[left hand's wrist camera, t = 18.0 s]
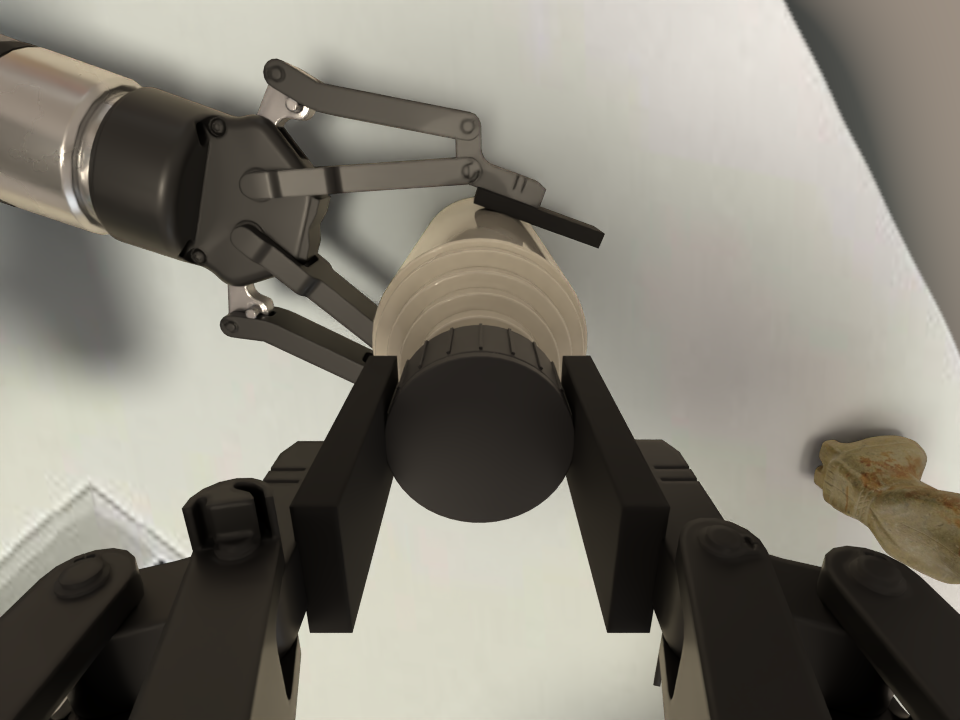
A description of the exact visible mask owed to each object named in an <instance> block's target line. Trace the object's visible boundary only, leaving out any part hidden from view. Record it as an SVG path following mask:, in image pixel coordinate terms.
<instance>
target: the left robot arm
mask: <svg viewBox="0 0 960 720" xmlns="http://www.w3.org/2000/svg"><path fill="white" fill-rule="evenodd" d="M397 383H399V378H398V363H397V356H369V358H368V359H367V361H366V363H365V365H364V367H363V369H362V371H361V373H360V374H359V376H358V378H357V380H356V382H355V384H354V386H353V388H352V390H351V391H350V393H349V395H348V397H347V399H346V401H345V403H344V405H343V406H342V408H341V410H340V412H339V414H338V416H337V418H336V420H335V422H334V423H333V425H332V427H331V429H330V431H329V433H328V435H327V437H326V439H325V440H324V441H297V442H296V443H294V444H293V445H292V446H290V447H289V448H288V449H286V450H285V451H283V452H282V453H281V454H280V455H279V456H278V458H277V460H276V461H275V463H274V464H273V466H272V467H271V471H269V472H268V473H267V475H266V476H265V478H264V479H263V481H262V480H258V479H254V478H236V479H231V480H227V481H222V482H218V483H216V484H214V485H211V486H209V487H207V488H204V489H202V490H201V491H200V492H198V493H197V494H195V495H194V496H192V497H191V498H190V499H189V500H188V501H187V503H186V504H185V505H184V506H183V508H182V511H183V515H184V519H185V523H186V527H187V530H188V534H189V538H190V542H191V546H192V550H193V552H192V555H191V557H188V558H185V559H181V560H178V561H174V562H169V563H165V564H160V565H156V566H151V567H147V568H142V569H138V566H137V563H136V559H135V557H134V556H133V555H132V554H131V553H129V552H128V551H127V550H122V549H116V548H110V549H101V550H95V551H91V552H88V553H85V554H82V555H79V556H76V557H74V558H72V559H70V560H68V561H66V562H64V563H62V564H60V565H58V566H56V567H55V568H54V569H52V570H51V571H50V572H49V573H47V574H46V575H45V576H43V577H42V578H41V579H40V580H39V581H38V582H37V583H35V584H34V585H33V586H32V587H31V588H30V589H29V590H28V591H27V592H26V593H25V594H24V595H23V596H22V597H21V598H20V599H19V600H18V601H17V602H16V603H15V604H14V605H13V606H12V607H11V608H10V609H9V610H8V611H7V612H5V613H4V614H3V615H2V616H1V617H0V720H295V716H296V706H297V695H298V684H299V673H300V662H301V650H300V643H299V638H298V631H299V629H300V626H301V623H302V621H303V618H304V615H305V613H306V612H307V618H308V624H309V630H310V633H353V629H354V625H355V621H356V617H357V614H358V610H359V606H360V602H361V598H362V594H363V591H364V587H365V583H366V579H367V575H368V572H369V568H370V564H371V560H372V556H373V553H374V549H375V545H376V541H377V537H378V534H379V530H380V526H381V522H382V518H383V514H384V511H385V507H386V503H387V499H388V495H389V492H390V488H391V484H392V480H393V476H394V475H393V474H392V472H391V470H390V467H389V465H388V462H387V454H386V441H385V424H386V420H387V412H388V409H389V406H390V403H391V400H392V397H393V395H394V392H395V389H396V386H397ZM561 385H562V387H563V389H564V392H565V395H566V398H567V401H568V404H569V407H570V410H571V413H572V419H573V424H574V428H575V436H574V450H573V459H572V462H571V465H570V467H569V470H568V472H567V474H566V478H567V481H568V485H569V489H570V493H571V497H572V500H573V504H574V508H575V512H576V516H577V520H578V523H579V527H580V531H581V535H582V539H583V542H584V546H585V550H586V554H587V558H588V561H589V565H590V569H591V573H592V577H593V581H594V584H595V588H596V592H597V596H598V600H599V603H600V607H601V611H602V615H603V619H604V622H605V626H606V630H607V633H650V628H651V622H652V616H653V610H654V611H655V614H656V616H657V619H658V622H659V624H660V627H661V630H662V638H661V643H660V649H659V655H658V660H657V666H656V672H655V678H654V684H653V685H655V686H660V684H661V682H662V693H663V704H664V715H665V720H960V614H959V613H958V612H957V611H956V610H955V609H954V608H952V607H951V606H950V605H949V604H948V603H947V602H946V601H945V600H944V599H943V598H942V597H941V596H940V595H939V594H938V593H937V592H936V591H935V590H934V589H933V588H932V587H931V586H930V585H929V584H927V583H926V582H925V581H924V580H923V579H922V578H921V577H920V576H919V575H918V574H916V573H915V572H914V571H912V570H911V569H910V568H908V567H907V566H906V565H904V564H903V563H901V562H899V561H897V560H895V559H893V558H891V557H889V556H887V555H885V554H882V553H880V552H877V551H874V550H870V549H867V548H861V547H853V546H843V547H837V548H833V549H832V550H831V551H829V552H828V553H827V554H826V555H825V558H824V561H823V564H822V567H818V566H814V565H809V564H805V563H800V562H796V561H791V560H787V559H783V558H779V557H776V556H772V555H769V554H768V552H767V550H766V548H765V547H764V545H763V544H762V542H761V541H760V539H758V538H757V537H756V536H755V535H753V534H752V533H751V532H750V531H748V530H747V529H745V528H743V527H741V526H739V525H736V524H734V523H732V522H729V521H725V520H724V519H723V517H722V516H721V514H720V513H719V511H718V510H717V508H716V507H715V505H714V504H713V502H712V501H711V499H710V498H709V496H708V495H707V493H706V491H705V490H704V488H703V487H702V485H701V484H700V482H699V481H697V478H696V476H695V475H694V473H693V472H692V470H691V469H689V466H688V464H687V463H686V461H685V460H684V458H683V456H682V455H681V453H680V452H679V451H677V450H676V449H675V448H673V447H672V446H670V445H669V444H668V443H666V442H665V441H663V440H635V439H634V437H633V435H632V434H631V432H630V430H629V428H628V426H627V424H626V422H625V420H624V418H623V417H622V415H621V413H620V411H619V409H618V407H617V405H616V403H615V402H614V400H613V398H612V396H611V394H610V392H609V390H608V388H607V386H606V385H605V383H604V381H603V379H602V377H601V375H600V373H599V371H598V369H597V368H596V366H595V364H594V362H593V360H592V358H591V356H563V357H562V373H561ZM894 694H895V696H896V697H897V698H898V700H899V701H900V702H901V704H902V705H903V706H904V707H905V709H906V710H907V711H908V713H909V714H910V715H909V714H908V713H907V712H906V711H905V710H904V709H903V708H902V707H901V706H900V704H899V703H898V702H897V700H896V699H895V698H894V697H893V695H894ZM66 696H67V699H66V700H65V702H64V703H63V704H62V706H61V707H60V708H59V709H58V710H57V711H56V709H57V708H58V707H59V706H60V704H61V703H62V702H63V700H64V699H65V698H66ZM55 711H56V712H55ZM54 712H55V713H54ZM53 713H54V714H53Z"/></svg>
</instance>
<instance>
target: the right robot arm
mask: <svg viewBox="0 0 960 720" xmlns="http://www.w3.org/2000/svg"><path fill="white" fill-rule="evenodd" d="M263 73H264V78H265V80H266V82H267V83H268V87H267V90H266V92H265V95H264V97H263V100H262V103H261V105H260V108H259V111H258V113H257V115H256V114H251V115H246V116H240V117H236V116H232V115H229V114H227V113H224V112H221V111H218V110H215V109H213V108H210V107H207V106H204V105H202V104H199V103H196V102H193V101H190V100H188V99H185V98H182V97H179V96H177V95H174V94H171V93H168V92H165V91H163V90H160V89H157V88H154V87H142V86H140V85H139V84H138V83H136V82H135V81H134V80H132V79H129V78H127V77H124V76H121V75H118V74H115V73H113V72H110V71H107V70H104V69H101V68H99V67H96V66H93V65H90V64H87V63H85V62H82V61H79V60H76V59H73V58H71V57H68V56H65V55H62V54H59V53H56V52H54V51H51V50H48V49H45V48H42V47H38V46H35V45H32V44H29V43H25V42H21V41H18V40H15V39H13V38H10V37H7V36H5V35H2V34H0V202H2V203H5V204H8V205H11V206H14V207H18V208H21V209H24V210H27V211H30V212H33V213H36V214H39V215H42V216H45V217H48V218H51V219H54V220H57V221H60V222H63V223H66V224H69V225H72V226H75V227H78V228H81V229H83V230H86V231H89V232H93V233H97V234H100V235H106V234H110V235H111V236H112V237H114V238H115V239H117V240H119V241H121V242H125V243H128V244H131V245H134V246H137V247H140V248H143V249H146V250H149V251H152V252H156V253H159V254H162V255H165V256H168V257H171V258H174V259H177V260H180V261H184V262H187V263H191V264H195V265H199V266H202V267H205V268H206V269H208V270H210V271H211V272H213V273H214V274H215V275H216V276H217V277H218V278H219V279H221V280H222V281H223V282H225V283H226V284H228V302H229V314H228V315H226V316H225V317H223V318H222V320H221V322H220V327H221V330H222V331H223V333H224V334H226V335H227V336H230V337H234V338H242V339H249V340H257V341H264V342H266V343H268V344H270V345H273V346H275V347H277V348H279V349H281V350H283V351H285V352H288V353H290V354H292V355H294V356H296V357H298V358H300V359H303V360H305V361H307V362H309V363H311V364H313V365H315V366H318V367H320V368H322V369H324V370H326V371H328V372H331V373H333V374H335V375H337V376H339V377H341V378H343V379H346V380H348V381H350V382H352V383H354V384H355V382H356V380H357V378H358V376H359V374H360V373H361V371H362V369H363V367H364V365H365V363H366V361H367V359H368V358H369V356H374V355H373V350H371V349H369V348H367V347H365V346H363V345H360V344H358V343H356V342H354V341H352V340H350V339H348V338H346V337H344V336H342V335H340V334H338V333H336V332H333V331H331V330H329V329H327V328H325V327H323V326H321V325H319V324H317V323H315V322H313V321H311V320H309V319H306V318H304V317H302V316H300V315H298V314H296V313H294V312H291V311H289V310H286V309H283V308H280V307H274V304H273V301H272V299H271V298H269V297H267V296H264V295H262V294H260V293H259V292H258V291H257V290H256V289H255V287H254V283H257V282H260V281H263V280H266V279H269V278H273V277H276V278H277V279H278V280H280V281H281V282H282V283H284V284H285V285H286V286H287V287H289V288H290V289H291V290H292V291H294V292H295V293H297V294H299V295H301V296H305V297H307V298H309V299H310V300H312V301H313V302H314V303H315V304H317V305H318V306H319V307H320V308H322V309H323V310H324V311H326V312H327V313H328V314H329V315H331V316H332V317H333V318H334V319H336V320H337V321H338V322H340V323H341V324H342V325H343V326H345V327H346V328H347V329H348V330H350V331H351V332H352V333H354V334H355V335H356V336H357V337H359V338H360V339H361V340H362V341H364V342H365V343H366V344H368V345H369V346H370V347H371V348H372V331H373V323H374V318H375V315H376V311H377V307H378V306H377V305H376V304H375V303H373V302H372V301H371V300H370V299H369V298H367V297H366V296H365V295H364V294H362V293H361V292H360V291H359V290H357V289H356V288H355V287H354V286H353V285H351V284H350V283H349V282H348V281H346V280H345V279H344V278H343V277H342V276H340V275H339V274H338V273H337V272H335V271H334V270H333V269H332V266H331V265H330V263H329V262H328V261H327V260H325V259H324V258H323V257H322V256H320V255H319V254H318V250H319V245H320V241H321V231H320V224H321V221H322V220H323V218H324V216H325V214H326V212H327V211H328V206H329V202H330V198H331V196H329V195H328V194H337V193H349V192H363V191H378V190H393V189H408V188H423V187H437V186H452V185H467V184H469V185H472V186H475V187H478V188H477V191H476V194H475V197H474V204H476V205H479V206H482V207H485V208H487V209H490V210H493V211H496V212H499V213H501V214H504V215H507V216H510V217H512V218H515V219H518V220H521V221H524V222H526V223H529V224H532V225H535V226H538V227H540V228H543V229H546V230H549V231H551V232H554V233H557V234H560V235H563V236H565V237H568V238H571V239H574V240H576V241H579V242H582V243H585V244H588V245H590V246H593V247H596V248H599V246H600V244H601V242H602V239H603V237H604V235H605V234H604V233H603V232H602V231H600V230H599V229H597V228H596V227H594V226H592V225H589V224H586V223H584V222H581V221H578V220H575V219H573V218H570V217H567V216H564V215H562V214H559V213H556V212H553V211H551V210H548V209H545V208H542V207H540V204H541V202H542V199H543V196H544V194H545V191H546V189H545V188H544V187H543V186H542V185H541V184H540V183H539V182H537V181H536V180H533V179H531V178H528V177H525V176H523V175H520V174H517V173H514V172H512V171H509V170H506V169H504V168H501V167H498V166H496V165H493V164H491V163H489V162H488V161H486V160H485V158H484V157H483V154H482V150H481V123H480V120H479V118H478V117H477V116H476V115H475V114H473V113H471V112H467V111H462V110H457V109H451V108H446V107H441V106H436V105H431V104H426V103H421V102H416V101H411V100H406V99H400V98H395V97H390V96H385V95H380V94H375V93H370V92H365V91H360V90H354V89H349V88H344V87H339V86H334V85H329V84H324V83H323V82H321V81H319V80H318V79H316V78H314V77H313V76H311V75H310V74H308V73H306V72H305V71H303V70H301V69H300V68H298V67H295V66H293V65H291V64H289V63H286V62H284V61H282V60H279V59H271V60H269V61H268V62H267V63H266V64H265V66H264V71H263ZM315 111H318V112H322V113H326V114H330V115H334V116H339V117H344V118H349V119H354V120H359V121H364V122H370V123H375V124H380V125H385V126H390V127H396V128H401V129H406V130H411V131H416V132H422V133H427V134H432V135H437V136H442V137H448V138H453V139H456V157H454V158H439V159H425V160H410V161H396V162H381V163H367V164H352V165H336V166H322V167H314V166H313V165H312V163H311V162H310V161H309V159H308V158H307V157H306V156H305V154H304V153H303V152H302V150H301V149H300V148H299V146H298V145H297V144H296V143H295V141H294V140H293V139H292V137H291V136H290V135H289V133H288V132H287V131H286V130H285V128H284V127H283V126H284V124H285V123H286V122H287V121H288V120H290V119H296V120H302V121H306V120H309V119H311V118H312V117H313V115H314V114H315Z"/></svg>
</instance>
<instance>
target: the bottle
mask: <svg viewBox="0 0 960 720" xmlns="http://www.w3.org/2000/svg"><path fill="white" fill-rule="evenodd" d="M479 323H482V325H490V326H497V327H501V328H505V329H508V328H510V329H511V331H513V332H516V333H518V334H520V335H522V336H524V337H525V338H527V339H529V340H530V341H531V342H533V341H534V342H536V344H537V346H538V347H539V348H540V349H541V350H542V351H543V352H544V353H545V355H546V356H547V357H548V359H549V360H550V361H551V362H552V361H553V362H554V364H555V367H556V370H557V373H558V376H559V379H560V382H561V373H562V357H563V356H586V351H587V328H586V321H585V317H584V313H583V310H582V306H581V304H580V302H579V300H578V297H577V295H576V293H575V292H574V290H573V288H572V287H571V285H570V283H569V282H568V280H567V279H566V277H565V276H564V274H563V273H562V271H561V270H560V268H559V267H558V265H557V264H556V262H555V261H554V259H553V258H552V256H551V255H550V253H549V252H548V250H547V249H546V247H545V246H544V244H543V243H542V241H541V240H540V238H539V237H538V235H537V234H536V232H535V231H534V229H533V228H532V226H531V225H530V224H529V223H526V222H524V221H521V220H518V219H515V218H512V217H510V216H507V215H504V214H501V213H499V212H496V211H493V210H490V209H487V208H485V207H482V206H479V205H476V204H474V197H471V198H466V199H462V200H459V201H457V202H454V203H453V204H451V205H449V206H447V207H446V208H444V209H443V210H442V211H441V212H440V213H438V214H437V215H436V216H435V218H434V219H433V220H432V221H431V223H430V224H429V226H428V227H427V229H426V230H425V232H424V233H423V235H422V236H421V238H420V239H419V241H418V242H417V244H416V245H415V247H414V248H413V250H412V251H411V253H410V254H409V256H408V257H407V258H406V260H405V261H404V263H403V264H402V266H401V267H400V269H399V270H398V272H397V273H396V275H395V276H394V278H393V279H392V281H391V282H390V284H389V286H388V287H387V289H386V291H385V292H384V294H383V296H382V298H381V300H380V303H379V305H378V307H377V311H376V315H375V318H374V323H373V331H372V348H373V355H374V356H397V363H398V378H399V381H400V378H401V375H402V372H403V369H404V366H405V363H406V361H407V359H408V360H410V359H411V357H412V356H413V355H414V354H415V352H416V351H417V350H418V349H419V348H420V347H422V346H423V345H424V342H425V341H426V340H428V341H429V340H430V339H432V338H434V337H435V336H437V335H439V334H441V333H443V332H446V331H448V330H450V328H452V327H453V328H458V327H462V326H470V325H479Z"/></svg>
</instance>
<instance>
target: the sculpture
mask: <svg viewBox="0 0 960 720" xmlns="http://www.w3.org/2000/svg"><path fill="white" fill-rule="evenodd" d="M819 458H820V460H821V461H822V464H823V465H820V466H819V467H817V468H816V470H815V474H814V482H815V484H817V485H818V486H819V487H820V488H821V489H823V497H824V500H825V501H826V502H828V503H829V504H831V505H832V506H833V507H834V508H835V509H837V510H838V511H840V512H842V513H844V514H846V515H847V516H850V517H852V518H855V519H857V520H859V521H860V522H862V523H863V524H864V525H866V526H867V527H868V528H869V529H870V530H871V532H872V533H873V534H874V536H875V538H876V539H877V541H878V542H879V544H880V545H881V547H882V548H883V549H884V550H885V552H886V553H887V554H889V555H890V556H891V557H893V558H894V559H896V560H898V561H900V562H902V563H904V564H905V565H907V566H909V567H911V568H913V569H915V570H917V571H919V572H921V573H923V574H925V575H927V576H929V577H932V578H934V579H936V580H938V581H941V582H944V583H948V584H960V494H959V493H954V492H948V491H941V490H937V489H935V488H933V487H931V486H929V485H927V484H925V483H923V482H921V481H920V479H921V476H922V473H923V471H924V468H925V465H926V462H927V456H926V453H925V452H924V450H923V449H922V448H921V447H920V445H919V444H918V443H916V442H915V441H913V440H911V439H908V438H905V437H901V436H893V435H886V436H876V437H871V438H866V439H863V440H860V441H856V442H852V443H839V442H838V441H836V440H827V441H825V442H823V444H822V447H821V450H820V453H819Z"/></svg>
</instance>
